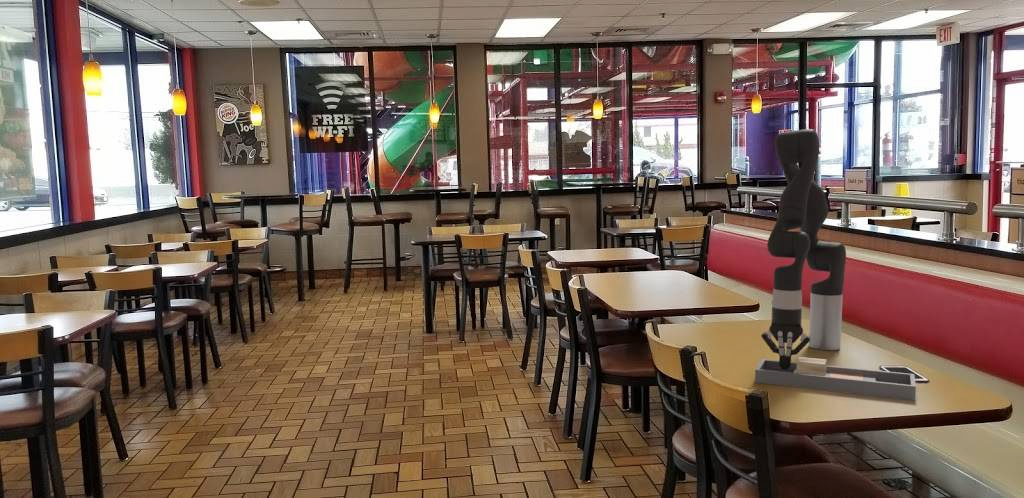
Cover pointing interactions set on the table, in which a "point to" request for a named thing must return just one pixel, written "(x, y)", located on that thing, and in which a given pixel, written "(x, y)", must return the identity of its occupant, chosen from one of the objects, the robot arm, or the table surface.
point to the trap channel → (840, 380)
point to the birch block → (811, 366)
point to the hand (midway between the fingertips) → (784, 368)
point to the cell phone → (905, 369)
